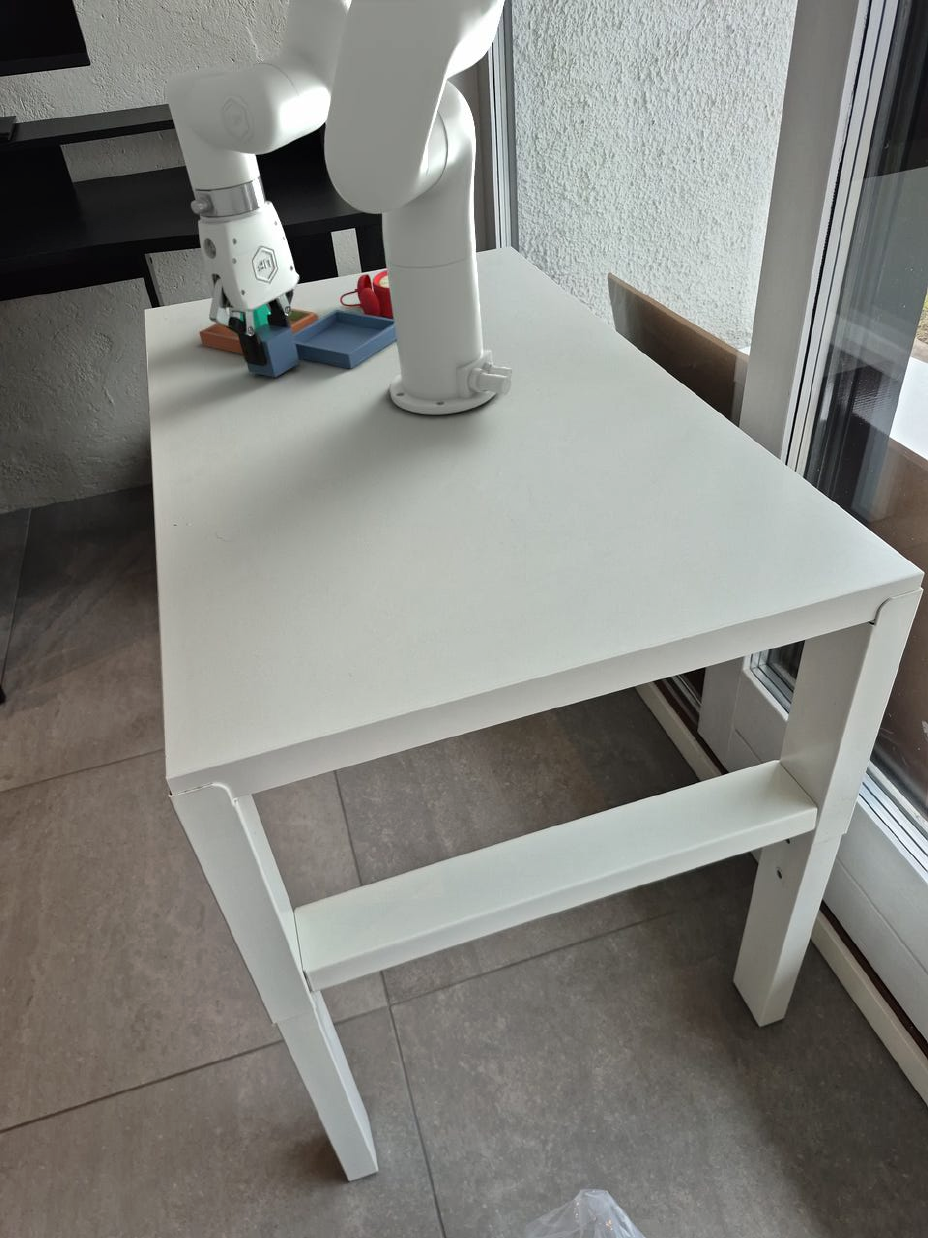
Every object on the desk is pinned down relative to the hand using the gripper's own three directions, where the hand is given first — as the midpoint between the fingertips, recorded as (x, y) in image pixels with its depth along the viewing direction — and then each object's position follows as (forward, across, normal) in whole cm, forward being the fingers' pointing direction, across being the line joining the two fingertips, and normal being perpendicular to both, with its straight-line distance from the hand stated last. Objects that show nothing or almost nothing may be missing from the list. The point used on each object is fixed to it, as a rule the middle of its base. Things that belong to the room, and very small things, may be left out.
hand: (270, 353), depth 112 cm
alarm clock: (+3, +23, -2) cm, 23 cm away
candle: (+2, +8, +10) cm, 13 cm away
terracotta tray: (+2, +8, +10) cm, 13 cm away
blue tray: (+2, +10, -3) cm, 11 cm away
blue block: (+2, 0, 0) cm, 2 cm away
